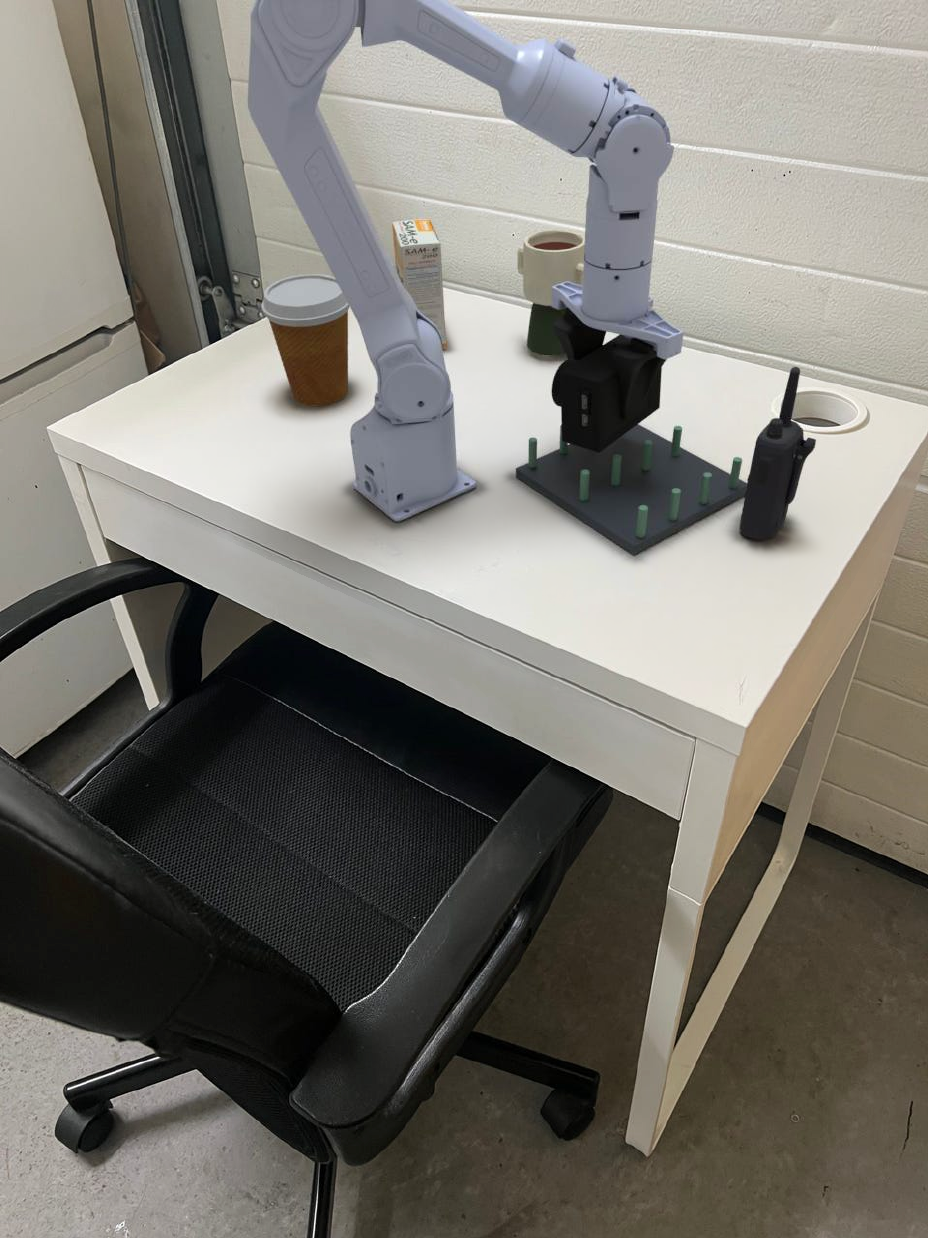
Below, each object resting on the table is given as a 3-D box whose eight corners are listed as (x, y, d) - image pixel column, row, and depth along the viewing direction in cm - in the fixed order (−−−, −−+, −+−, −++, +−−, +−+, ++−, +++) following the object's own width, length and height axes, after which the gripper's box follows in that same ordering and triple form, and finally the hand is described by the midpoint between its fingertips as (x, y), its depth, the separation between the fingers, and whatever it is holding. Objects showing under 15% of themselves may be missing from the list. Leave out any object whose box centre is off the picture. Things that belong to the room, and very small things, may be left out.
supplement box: (399, 326, 119) (390, 220, 110) (436, 322, 119) (430, 216, 111) (408, 354, 113) (399, 245, 104) (447, 350, 113) (441, 240, 104)
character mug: (607, 352, 111) (614, 241, 102) (568, 373, 107) (572, 260, 99) (537, 327, 117) (539, 220, 108) (499, 346, 113) (497, 237, 105)
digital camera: (612, 395, 93) (613, 327, 89) (660, 408, 90) (663, 338, 86) (550, 438, 87) (548, 368, 83) (599, 453, 84) (599, 381, 80)
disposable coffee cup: (267, 411, 104) (246, 306, 96) (294, 371, 111) (276, 270, 103) (349, 415, 102) (335, 309, 94) (371, 375, 109) (359, 273, 101)
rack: (633, 555, 82) (637, 518, 79) (515, 476, 92) (515, 441, 89) (748, 493, 88) (755, 456, 85) (626, 426, 98) (629, 391, 95)
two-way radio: (755, 506, 86) (786, 354, 76) (802, 521, 84) (841, 367, 74) (731, 536, 83) (760, 382, 73) (780, 552, 81) (817, 396, 71)
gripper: (716, 269, 76) (695, 418, 85) (594, 223, 84) (587, 363, 93) (654, 292, 73) (639, 444, 82) (534, 243, 81) (533, 385, 90)
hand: (607, 402), depth 87 cm, fingers closed on digital camera, 5 cm apart
